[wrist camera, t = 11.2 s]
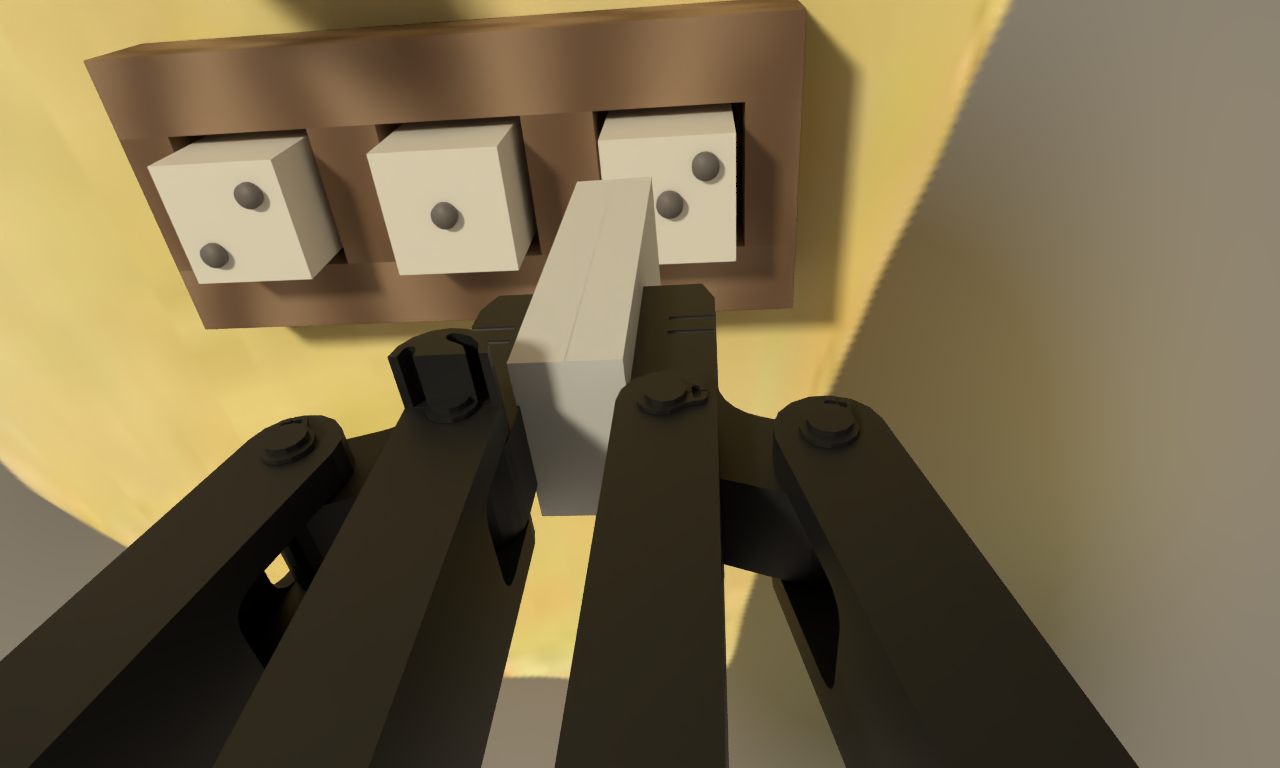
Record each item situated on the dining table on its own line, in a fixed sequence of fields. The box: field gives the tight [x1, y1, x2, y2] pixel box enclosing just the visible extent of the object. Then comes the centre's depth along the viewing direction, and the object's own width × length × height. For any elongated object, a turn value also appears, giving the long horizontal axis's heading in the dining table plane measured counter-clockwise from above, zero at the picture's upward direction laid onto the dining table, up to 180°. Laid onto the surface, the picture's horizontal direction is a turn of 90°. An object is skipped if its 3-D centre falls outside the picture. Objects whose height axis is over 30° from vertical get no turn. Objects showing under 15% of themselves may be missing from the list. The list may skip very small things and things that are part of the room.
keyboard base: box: [84, 0, 806, 329], centre depth 35 cm, size 30×13×4 cm, turn 94°
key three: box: [598, 103, 736, 264], centre depth 33 cm, size 5×6×6 cm
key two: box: [147, 129, 343, 284], centre depth 35 cm, size 5×6×6 cm
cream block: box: [366, 116, 538, 275], centre depth 34 cm, size 5×6×6 cm
